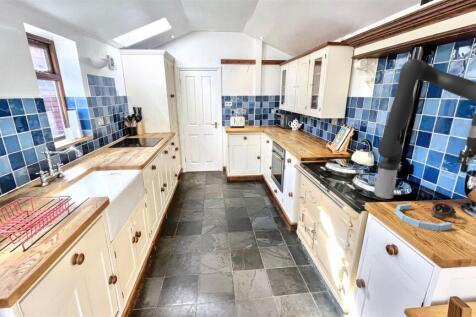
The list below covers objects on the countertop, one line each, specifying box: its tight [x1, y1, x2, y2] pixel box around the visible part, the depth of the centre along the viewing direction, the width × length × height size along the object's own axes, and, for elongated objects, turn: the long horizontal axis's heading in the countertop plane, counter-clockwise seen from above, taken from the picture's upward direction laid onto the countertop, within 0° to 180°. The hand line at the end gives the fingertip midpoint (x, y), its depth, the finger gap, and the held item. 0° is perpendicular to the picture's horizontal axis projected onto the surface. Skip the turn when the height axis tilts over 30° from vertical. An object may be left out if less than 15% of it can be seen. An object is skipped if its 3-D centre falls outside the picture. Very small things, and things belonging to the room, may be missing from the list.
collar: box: [394, 203, 453, 231], centre depth 107 cm, size 14×21×2 cm
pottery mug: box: [430, 200, 457, 219], centre depth 109 cm, size 12×10×8 cm
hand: (471, 171), depth 102 cm, fingers open, 8 cm apart
